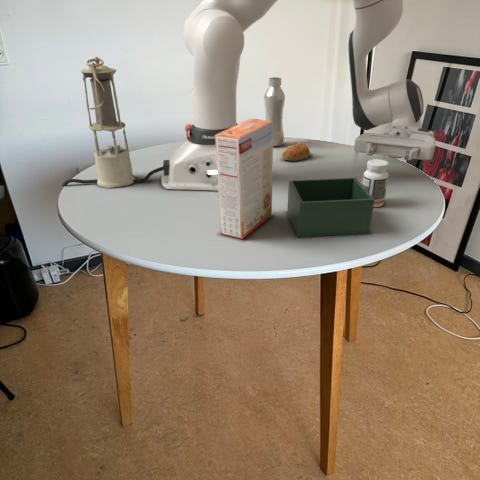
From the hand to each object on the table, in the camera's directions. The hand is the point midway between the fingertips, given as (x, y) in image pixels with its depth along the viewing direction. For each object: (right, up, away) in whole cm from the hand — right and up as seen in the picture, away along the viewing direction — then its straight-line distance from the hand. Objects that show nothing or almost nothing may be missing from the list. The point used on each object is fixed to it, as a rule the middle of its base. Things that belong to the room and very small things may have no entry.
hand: (388, 154), depth 115 cm
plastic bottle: (-26, +16, +37) cm, 48 cm away
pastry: (-20, +8, +26) cm, 34 cm away
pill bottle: (-5, -13, -4) cm, 15 cm away
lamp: (-72, -4, +10) cm, 72 cm away
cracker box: (-36, -21, -13) cm, 43 cm away
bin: (-18, -20, -12) cm, 29 cm away
